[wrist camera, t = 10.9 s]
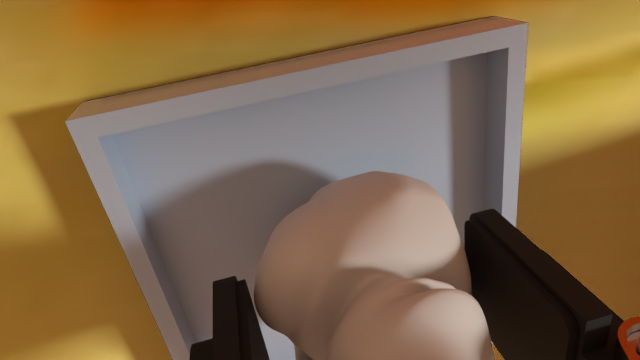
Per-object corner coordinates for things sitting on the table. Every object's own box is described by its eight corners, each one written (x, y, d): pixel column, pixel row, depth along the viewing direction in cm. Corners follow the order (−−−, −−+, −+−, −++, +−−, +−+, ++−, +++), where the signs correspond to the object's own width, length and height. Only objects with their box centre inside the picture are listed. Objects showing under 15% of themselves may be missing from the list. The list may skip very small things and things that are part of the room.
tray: (82, 102, 11) (64, 121, 10) (494, 15, 12) (528, 22, 11) (205, 392, 16) (205, 431, 15) (486, 310, 17) (509, 339, 16)
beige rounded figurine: (470, 175, 13) (752, 436, 6) (374, 340, 15) (494, 669, 8) (299, 115, 11) (406, 378, 4) (219, 311, 14) (203, 692, 7)
